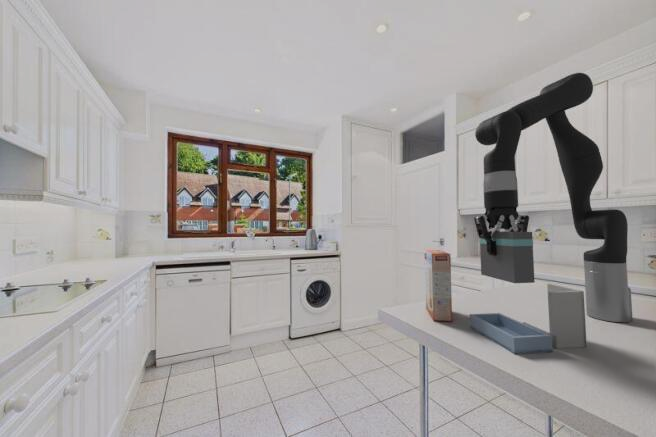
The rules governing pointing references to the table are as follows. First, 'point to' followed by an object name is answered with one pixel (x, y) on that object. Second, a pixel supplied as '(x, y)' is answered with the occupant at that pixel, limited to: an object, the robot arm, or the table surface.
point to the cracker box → (438, 285)
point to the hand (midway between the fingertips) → (502, 254)
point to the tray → (511, 333)
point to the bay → (565, 317)
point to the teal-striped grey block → (509, 257)
